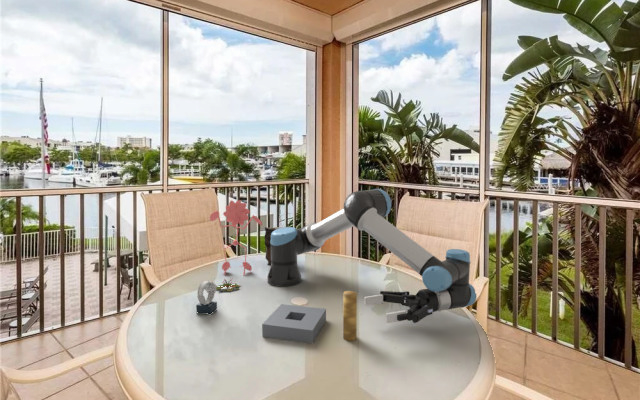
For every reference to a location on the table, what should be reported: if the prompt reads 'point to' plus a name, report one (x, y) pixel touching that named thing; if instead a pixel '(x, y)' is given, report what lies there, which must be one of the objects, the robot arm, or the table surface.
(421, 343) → the table surface
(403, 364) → the table surface
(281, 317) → the hole block
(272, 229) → the owl
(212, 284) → the watch
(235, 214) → the figurine
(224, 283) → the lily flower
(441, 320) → the table surface
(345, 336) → the ochre pin
